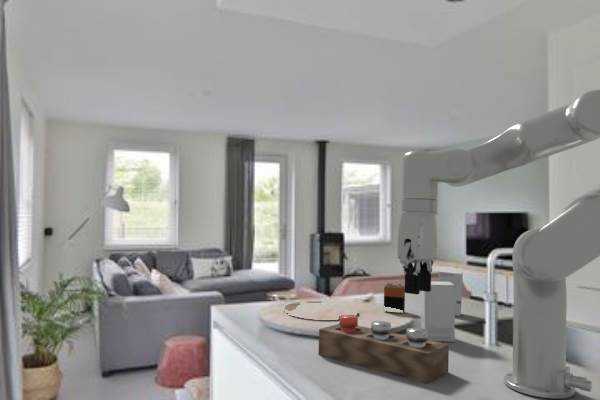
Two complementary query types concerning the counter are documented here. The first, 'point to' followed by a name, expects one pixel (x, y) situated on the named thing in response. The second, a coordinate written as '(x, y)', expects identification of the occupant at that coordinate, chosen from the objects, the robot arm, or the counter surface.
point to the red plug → (348, 323)
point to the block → (385, 353)
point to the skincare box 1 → (439, 312)
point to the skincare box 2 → (457, 281)
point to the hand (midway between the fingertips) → (417, 291)
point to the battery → (394, 296)
